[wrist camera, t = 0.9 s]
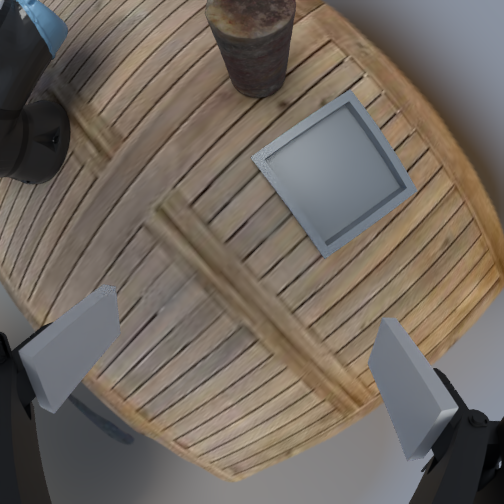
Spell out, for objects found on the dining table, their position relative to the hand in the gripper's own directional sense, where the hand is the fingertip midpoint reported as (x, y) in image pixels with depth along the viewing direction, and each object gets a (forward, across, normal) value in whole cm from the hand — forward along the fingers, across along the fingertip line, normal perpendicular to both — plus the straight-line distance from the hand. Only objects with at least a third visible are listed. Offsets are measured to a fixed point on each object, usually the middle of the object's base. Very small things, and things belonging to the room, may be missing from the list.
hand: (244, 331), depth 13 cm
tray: (+28, +9, +8) cm, 30 cm away
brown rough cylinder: (+28, -2, +21) cm, 35 cm away
